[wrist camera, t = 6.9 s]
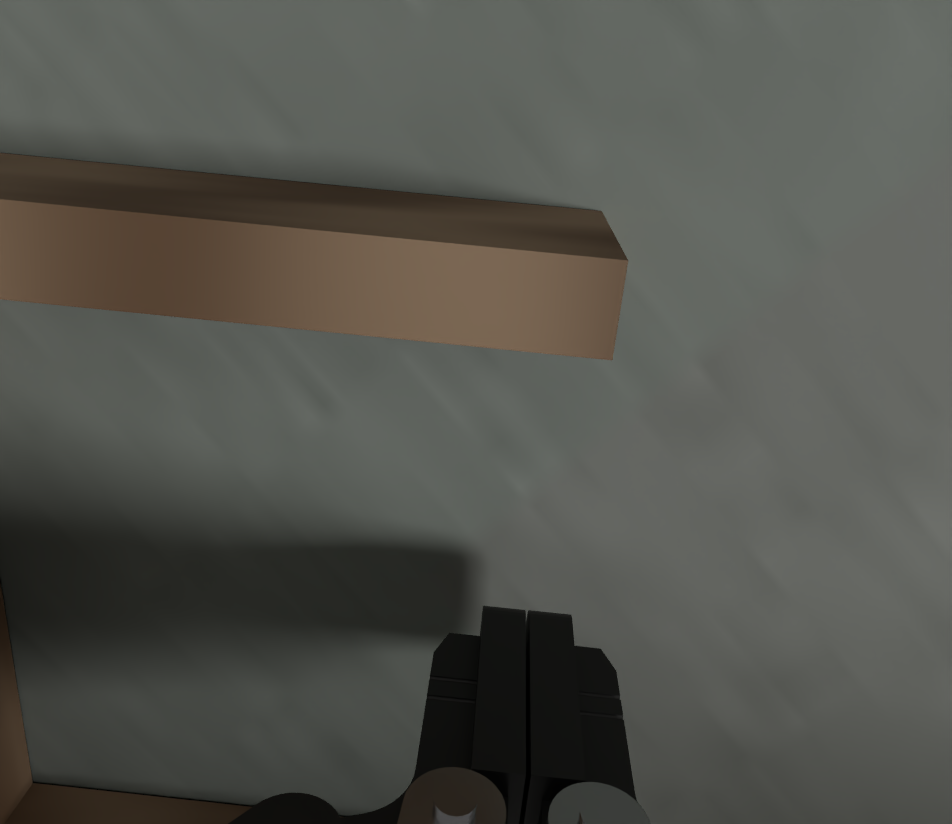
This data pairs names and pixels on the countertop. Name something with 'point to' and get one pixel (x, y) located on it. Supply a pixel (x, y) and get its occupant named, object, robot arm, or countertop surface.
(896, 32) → the countertop surface
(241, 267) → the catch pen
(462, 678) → the robot arm
